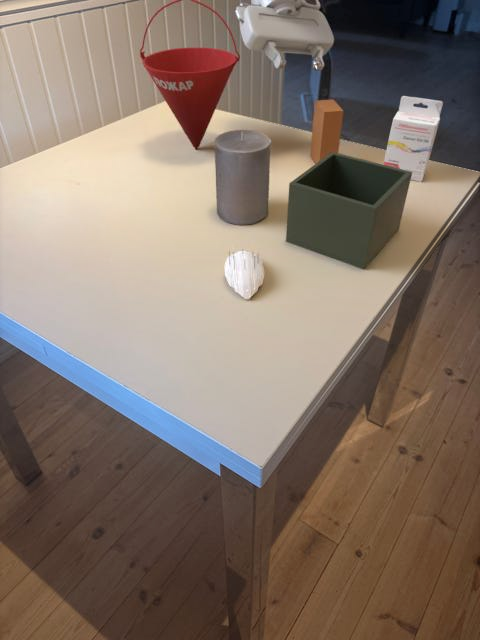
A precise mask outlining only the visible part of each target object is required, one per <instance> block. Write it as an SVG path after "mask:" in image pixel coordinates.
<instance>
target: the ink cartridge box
mask: <svg viewBox="0 0 480 640" xmlns="http://www.w3.org/2000/svg"><path fill="white" fill-rule="evenodd" d="M415 104H416V105H420V104H422V105H423V106H427V107H426V108H425V107H420V106H414V105H415ZM443 105H444V101H442V100H437V99H436V100H435V99H429V98H424V97H423V98H422V97H416V96H407V95H402V96H401V98H400V101H399V107H398V111H397V112H396V113H395V115H394V117H393V119H392V123H391V127H390V132H389V136H388V141H387V145H386V149H385V154H384V155H385V156H384V161H383V165H387V166H391V167H394V168H398V169H402V170H406V171H410V172H412V176H411V180H410V181H415V182H421V183H422V182H423V180H424V178H425V175H426V173H427V169H428V165H429V162H430V161H429V160H430V158H431V155H432V152H433V151H432V150H433V147H434V143H435V140H436V135H437V131H438V128H439V125H440V121H441V117H440V116H441V112H442V109H443Z"/></svg>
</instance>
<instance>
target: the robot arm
mask: <svg viewBox="0 0 480 640" xmlns="http://www.w3.org/2000/svg"><path fill="white" fill-rule="evenodd" d="M320 8H321V3H320V0H250V3H246V2H239V4H237V6H236V7H235V9H234V10H235V15H236V18H237V20H238V21H239V29H240V34H241V38H242V41H243V44H244V46H245V47H246V48H247V49H248V50H249V51H254V52H255V51H256V52H263V53H264V55H265V56H266V57H267V58H268V59H269V60H270V61H271V62H273V66H274V68H275V69H281V70H282V69H284V68H285V66H286V65H287V60H286V58H285V55H284V54H295V55H297V54H298V55H308V56H309V55H311V57H312V58H314V59H313V61H312V62H311V66H312V69H313V71H319V72H320V71H322V70H323V68H324V67H325V62H324V59H323V56H325V55H327V53H328V52H329V51H330V50H331V49H332V47H333V45H334V42H335V37H334V34H333V31H332V29H331V27H330V24H329V22H328V20H327V18H326V16H325V14H324V13H323V12H322V11H320ZM280 53H281V54H280Z"/></svg>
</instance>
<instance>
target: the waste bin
mask: <svg viewBox="0 0 480 640" xmlns="http://www.w3.org/2000/svg"><path fill="white" fill-rule="evenodd" d="M411 176H412V172H410V171H406V170H402V169H398V168H394V167H391V166H387V165H384V163H383V164H382V163H379V162H374V161H370V160H368V159H367V160H366V159H362V158H359V157H354V156H351V155H347V154H342V153H339V152H338V153H335V152H331V153H330V154H328V155H327V156H326V157H324V158H323V159H322V160H320V161H319V162H318V163H316V164H315V163H314V164H313V165H311V167H309V168H308V169H307V170H305V171H304V172H303V173H301V174H299V175H298V176H297V177H296V178H294V179H293V180H292V181H290V182H289V183H288V202H287V214H286V215H287V217H286V218H287V219H286V233H285V242H287V243H289V244H292V245H295V246H298V247H300V248H303V249H306V250H309V251H311V252H315V253H318V254H320V255H322V256H326V257H329V258H331V259H333V260H336V261H340V262H342V263H345V264H348V265H350V266H354V267H356V268H359V269H362V270H365V269H367V267H368V266H369V264H370V263H371V262H372V261H373V260H374V259H375V258H376V256H377V255H379V253H380V252H381V250H383V248H384V247H385V246H386V245H387V244H388V243H389V241H390V240H391V239H392V238H393V237H394V236H395V235H396V233H398V231H399V229H400V226H401V222H402V219H403V213H404V209H405V205H406V202H407V197H408V192H409V189H410V184H411V181H412V180H411Z"/></svg>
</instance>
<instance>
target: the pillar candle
mask: <svg viewBox="0 0 480 640" xmlns="http://www.w3.org/2000/svg"><path fill="white" fill-rule="evenodd" d="M271 144H272V139H271V137H269V136H268V135H267V134H265V133H263V132H260V131H258V130H252V129H251V130H250V129H237V130H236V129H234V130H229V131H225V132H222V133H220V134H218V135H217V136H216V137H215V139H214V163H215V164H214V166H215V195H216V214H217V216H218V217H219V219H220V220H222V221H224V222H226V223H228V224H231V225H237V226H238V225H239V226H240V225H241V226H243V225H246V226H247V225H253V224H256V223H258V222H259V221H262V220H263V219H264V218H266V217H267V216H268V213H269V198H270V196H269V195H270V173H271V171H270V170H271V169H270V168H271V167H270V165H271V164H270V163H271Z"/></svg>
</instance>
